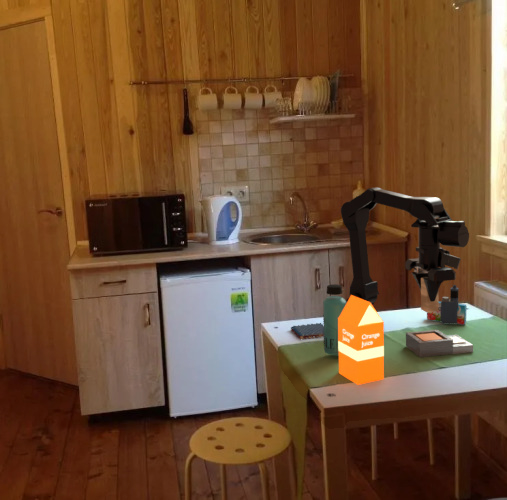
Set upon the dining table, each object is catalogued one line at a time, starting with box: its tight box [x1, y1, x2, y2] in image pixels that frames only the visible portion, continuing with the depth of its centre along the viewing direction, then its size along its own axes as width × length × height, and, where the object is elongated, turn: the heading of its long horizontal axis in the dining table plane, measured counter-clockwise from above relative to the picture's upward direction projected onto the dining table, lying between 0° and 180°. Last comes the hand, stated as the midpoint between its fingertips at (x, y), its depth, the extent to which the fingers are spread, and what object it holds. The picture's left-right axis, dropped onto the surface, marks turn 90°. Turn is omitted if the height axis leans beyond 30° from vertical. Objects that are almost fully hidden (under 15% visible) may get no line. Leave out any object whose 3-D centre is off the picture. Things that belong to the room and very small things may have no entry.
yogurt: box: [426, 301, 467, 326], centre depth 198 cm, size 12×2×6 cm, turn 55°
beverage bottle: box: [322, 283, 347, 356], centre depth 170 cm, size 6×7×20 cm
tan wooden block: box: [420, 277, 440, 313], centre depth 175 cm, size 4×4×9 cm
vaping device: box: [440, 284, 460, 325], centre depth 195 cm, size 3×5×12 cm, turn 80°
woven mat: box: [290, 322, 324, 340], centre depth 193 cm, size 10×11×2 cm
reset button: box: [415, 333, 442, 341], centre depth 173 cm, size 6×6×2 cm
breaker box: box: [405, 329, 474, 358], centre depth 174 cm, size 15×9×4 cm, turn 100°
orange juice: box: [338, 295, 385, 386], centre depth 155 cm, size 8×9×20 cm
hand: (429, 299), depth 175 cm, fingers closed on tan wooden block, 3 cm apart
